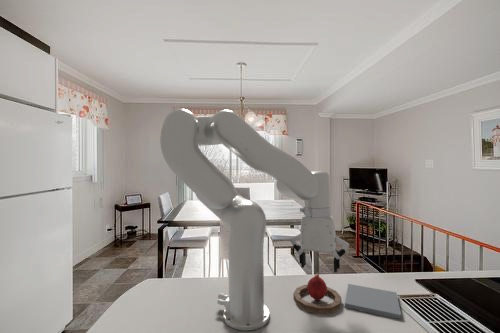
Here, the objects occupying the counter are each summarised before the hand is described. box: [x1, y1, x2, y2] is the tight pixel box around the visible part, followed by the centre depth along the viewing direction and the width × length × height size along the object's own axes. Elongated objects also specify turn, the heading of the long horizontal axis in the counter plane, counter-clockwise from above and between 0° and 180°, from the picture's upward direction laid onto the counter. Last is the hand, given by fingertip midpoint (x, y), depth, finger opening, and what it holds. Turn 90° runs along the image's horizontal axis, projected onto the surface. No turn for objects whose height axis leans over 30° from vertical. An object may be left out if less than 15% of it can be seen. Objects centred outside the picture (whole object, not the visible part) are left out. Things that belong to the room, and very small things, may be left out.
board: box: [344, 283, 402, 320], centre depth 76 cm, size 14×13×1 cm
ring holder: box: [292, 284, 342, 315], centre depth 77 cm, size 14×14×2 cm
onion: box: [306, 273, 328, 302], centre depth 77 cm, size 6×6×8 cm
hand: (319, 268), depth 77 cm, fingers open, 9 cm apart
